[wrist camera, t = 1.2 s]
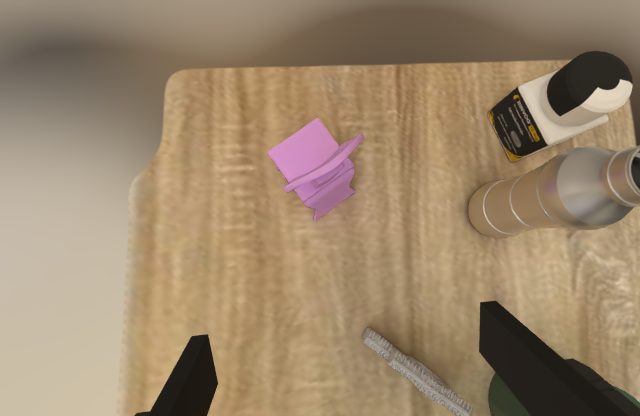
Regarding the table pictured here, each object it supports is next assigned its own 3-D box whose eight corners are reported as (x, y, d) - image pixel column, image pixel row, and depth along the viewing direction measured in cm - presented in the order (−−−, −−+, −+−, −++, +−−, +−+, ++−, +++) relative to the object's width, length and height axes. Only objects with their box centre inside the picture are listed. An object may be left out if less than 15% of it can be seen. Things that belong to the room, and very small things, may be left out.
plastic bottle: (453, 225, 39) (588, 198, 19) (474, 176, 40) (624, 102, 20) (502, 248, 38) (693, 245, 19) (523, 198, 39) (726, 145, 19)
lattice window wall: (358, 336, 37) (365, 352, 31) (367, 322, 38) (375, 336, 32) (445, 399, 36) (469, 428, 30) (454, 385, 36) (479, 412, 31)
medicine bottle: (484, 113, 41) (551, 57, 29) (535, 93, 41) (621, 29, 29) (510, 163, 40) (589, 126, 28) (561, 142, 40) (661, 97, 28)
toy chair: (321, 132, 41) (320, 64, 26) (362, 187, 40) (386, 149, 25) (267, 169, 40) (235, 121, 25) (308, 226, 39) (299, 211, 24)
